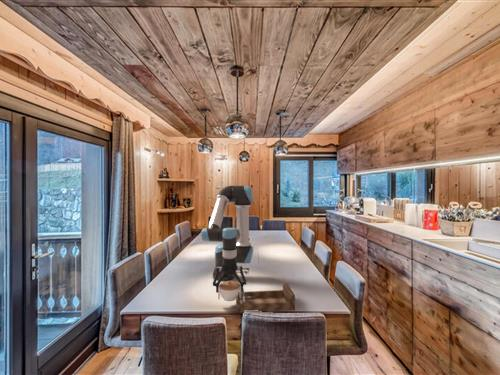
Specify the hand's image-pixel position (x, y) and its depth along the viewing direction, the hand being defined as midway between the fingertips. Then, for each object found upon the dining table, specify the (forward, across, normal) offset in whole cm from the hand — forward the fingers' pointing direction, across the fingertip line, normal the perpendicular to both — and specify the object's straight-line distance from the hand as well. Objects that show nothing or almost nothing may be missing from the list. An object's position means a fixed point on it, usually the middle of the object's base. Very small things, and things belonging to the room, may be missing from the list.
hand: (229, 297), depth 140 cm
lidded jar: (+1, 0, 0) cm, 1 cm away
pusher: (+4, +9, 0) cm, 10 cm away
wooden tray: (+4, +19, 0) cm, 19 cm away
